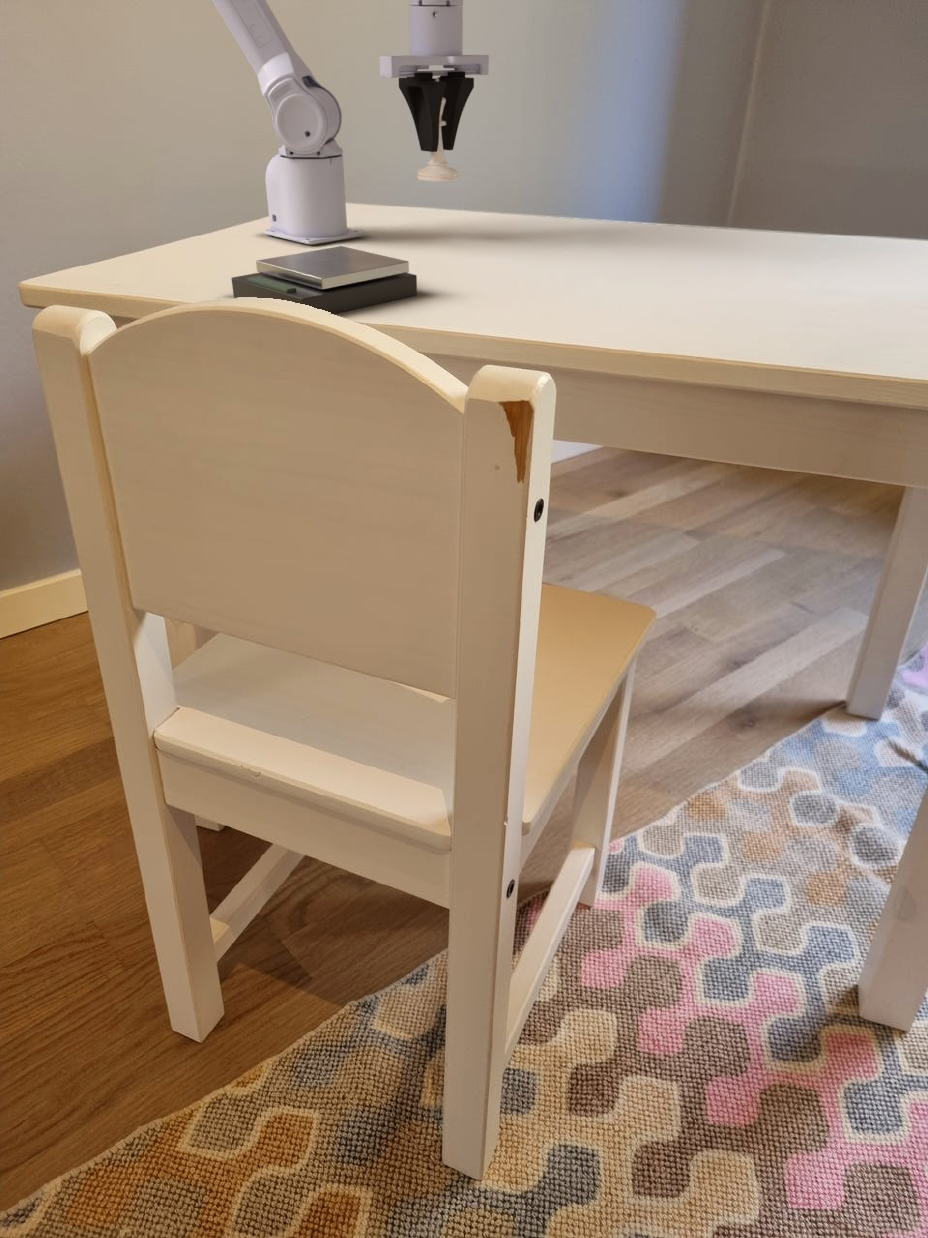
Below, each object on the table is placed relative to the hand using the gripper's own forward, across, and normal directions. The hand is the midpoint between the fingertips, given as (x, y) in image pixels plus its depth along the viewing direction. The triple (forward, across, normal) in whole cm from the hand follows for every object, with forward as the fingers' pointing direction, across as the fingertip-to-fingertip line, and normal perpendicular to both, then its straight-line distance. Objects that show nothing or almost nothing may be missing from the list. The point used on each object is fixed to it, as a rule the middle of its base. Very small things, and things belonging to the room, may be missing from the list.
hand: (436, 150), depth 105 cm
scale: (+9, -27, -13) cm, 32 cm away
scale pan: (+7, -26, -13) cm, 30 cm away
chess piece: (+3, 0, 0) cm, 3 cm away
